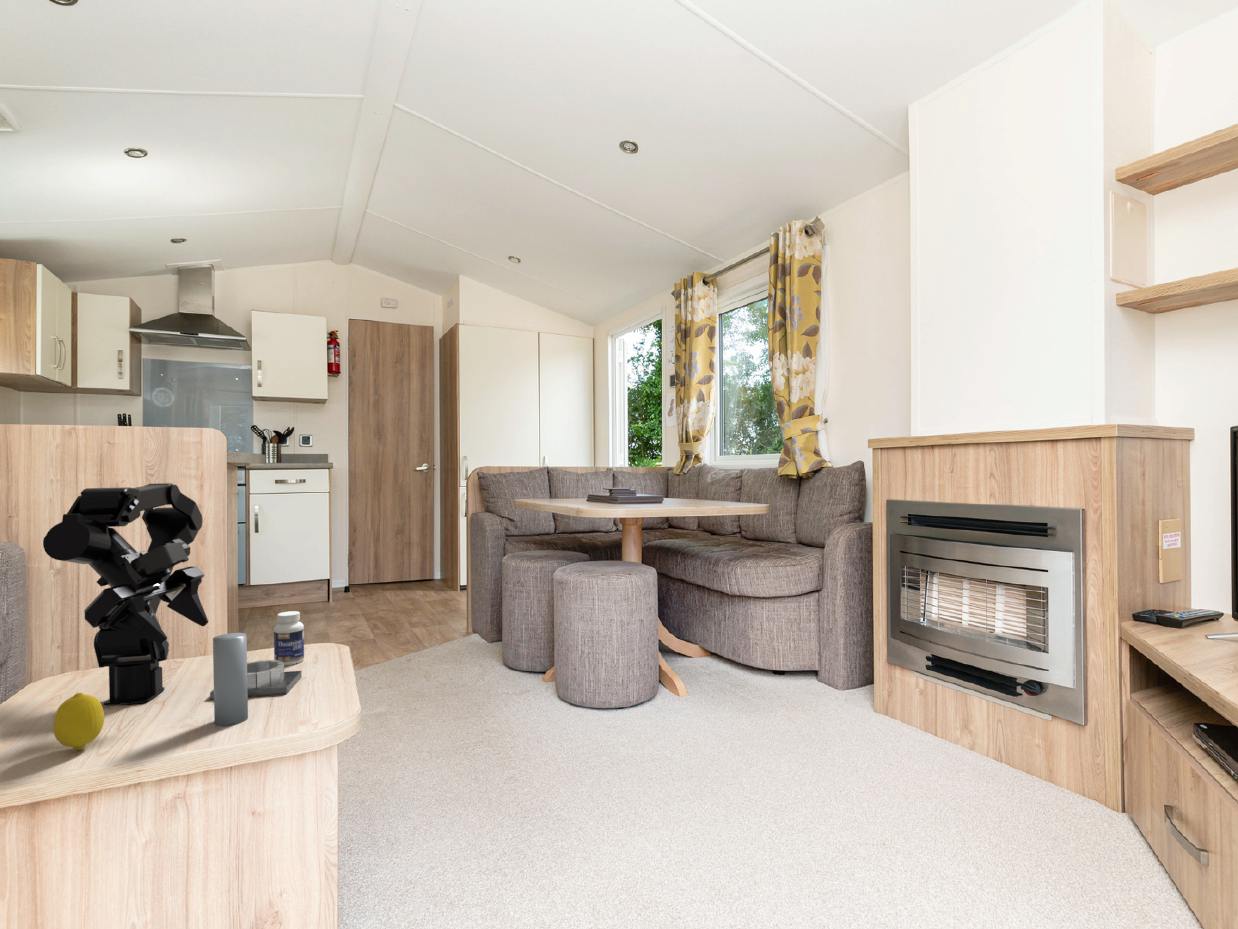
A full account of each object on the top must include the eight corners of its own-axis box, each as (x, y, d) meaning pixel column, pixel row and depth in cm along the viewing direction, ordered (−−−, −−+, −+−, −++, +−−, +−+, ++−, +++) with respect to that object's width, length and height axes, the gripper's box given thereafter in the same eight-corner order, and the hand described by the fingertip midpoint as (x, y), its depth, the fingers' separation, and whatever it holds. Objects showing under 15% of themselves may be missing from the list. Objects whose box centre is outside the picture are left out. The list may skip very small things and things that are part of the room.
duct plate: (210, 699, 112) (209, 677, 112) (230, 682, 121) (230, 661, 121) (286, 694, 115) (286, 672, 115) (301, 677, 124) (301, 657, 123)
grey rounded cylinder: (209, 727, 101) (207, 641, 101) (221, 715, 105) (219, 633, 105) (241, 724, 102) (240, 639, 101) (252, 713, 106) (250, 632, 106)
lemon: (77, 760, 90) (76, 701, 90) (43, 757, 91) (41, 699, 91) (114, 742, 96) (113, 687, 96) (82, 740, 97) (81, 685, 97)
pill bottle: (275, 668, 129) (274, 617, 129) (273, 661, 134) (272, 612, 134) (305, 663, 132) (305, 614, 132) (303, 656, 137) (302, 609, 136)
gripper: (101, 533, 95) (178, 611, 94) (192, 518, 113) (256, 583, 113) (49, 588, 95) (126, 665, 95) (148, 564, 114) (212, 629, 114)
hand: (186, 632), depth 104 cm, fingers open, 9 cm apart
